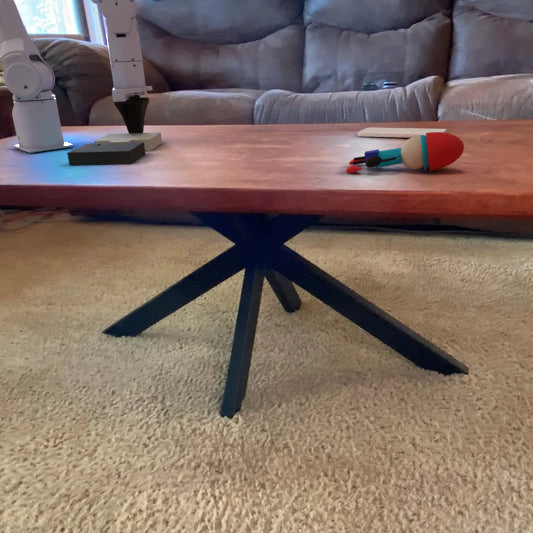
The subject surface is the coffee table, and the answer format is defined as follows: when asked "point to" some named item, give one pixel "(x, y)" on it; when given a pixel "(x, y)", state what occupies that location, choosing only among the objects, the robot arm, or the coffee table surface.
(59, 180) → the coffee table surface
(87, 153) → the black pad
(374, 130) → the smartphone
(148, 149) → the grey pad
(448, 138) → the toy figure
